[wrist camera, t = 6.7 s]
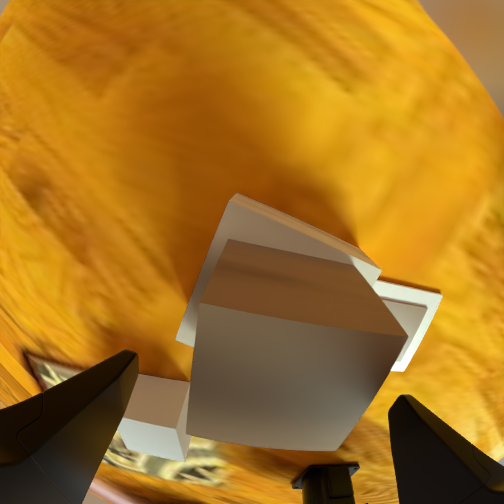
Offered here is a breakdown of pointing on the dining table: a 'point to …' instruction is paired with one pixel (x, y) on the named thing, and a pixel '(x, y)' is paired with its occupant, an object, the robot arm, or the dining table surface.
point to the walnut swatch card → (408, 314)
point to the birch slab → (274, 236)
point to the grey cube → (157, 418)
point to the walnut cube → (287, 350)
